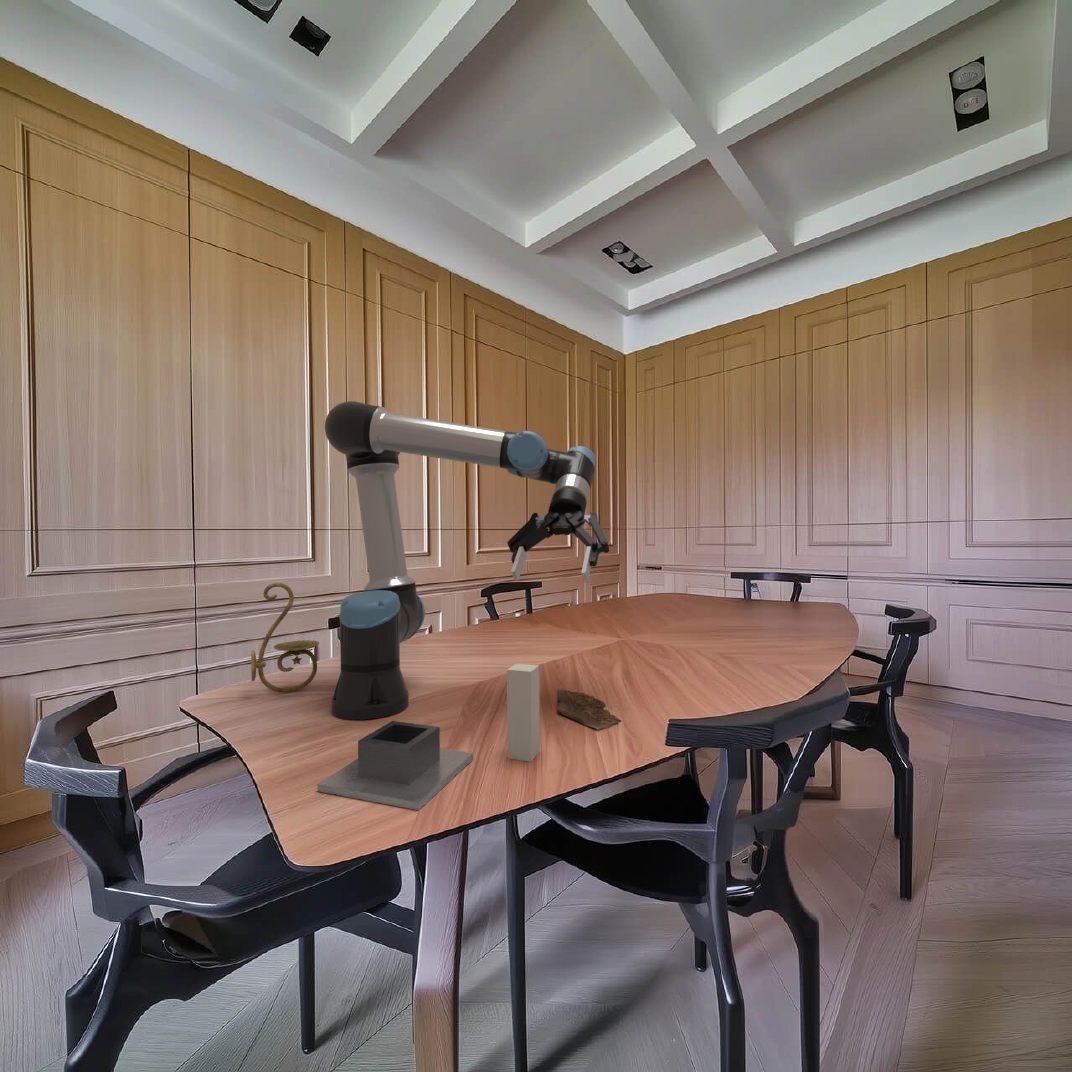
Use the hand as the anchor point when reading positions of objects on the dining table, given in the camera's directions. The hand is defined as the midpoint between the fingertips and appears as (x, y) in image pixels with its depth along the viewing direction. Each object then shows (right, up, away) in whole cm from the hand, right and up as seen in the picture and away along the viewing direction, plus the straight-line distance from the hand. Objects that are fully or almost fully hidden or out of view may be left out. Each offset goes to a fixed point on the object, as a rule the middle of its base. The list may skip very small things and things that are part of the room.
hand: (548, 577), depth 96 cm
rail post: (-4, -27, -13) cm, 31 cm away
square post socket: (-22, -28, -19) cm, 40 cm away
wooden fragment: (+7, -28, +10) cm, 30 cm away
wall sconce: (-59, -28, +22) cm, 69 cm away
